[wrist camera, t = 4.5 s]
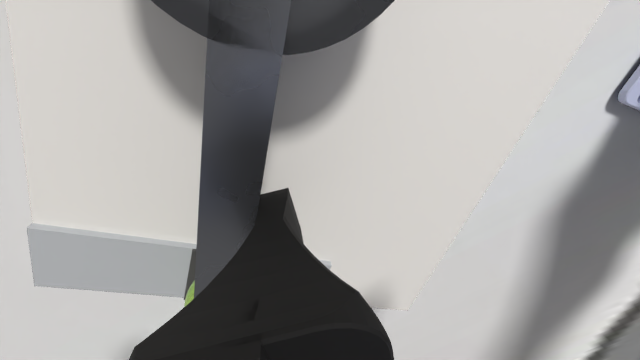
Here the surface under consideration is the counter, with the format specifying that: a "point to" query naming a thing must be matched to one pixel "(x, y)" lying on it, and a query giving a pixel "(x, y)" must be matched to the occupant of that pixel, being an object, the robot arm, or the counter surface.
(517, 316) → the counter surface
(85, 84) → the stand
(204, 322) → the robot arm
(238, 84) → the dark round paddle
